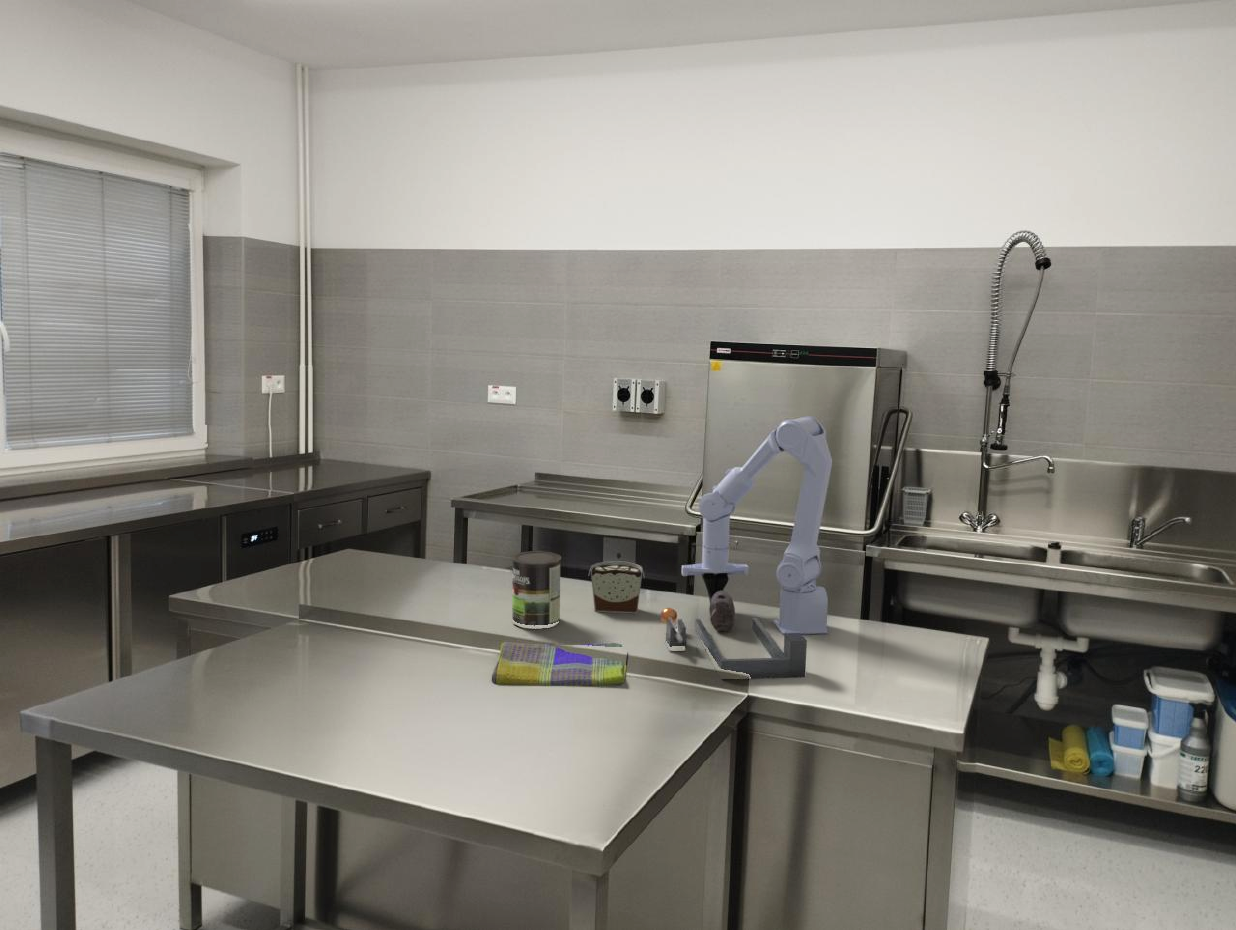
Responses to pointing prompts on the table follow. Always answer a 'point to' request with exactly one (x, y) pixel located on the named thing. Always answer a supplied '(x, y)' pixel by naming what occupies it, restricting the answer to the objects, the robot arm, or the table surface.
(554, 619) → the coffee can
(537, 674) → the dish towel
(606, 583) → the food container
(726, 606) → the perforated stone tool
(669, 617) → the lever
